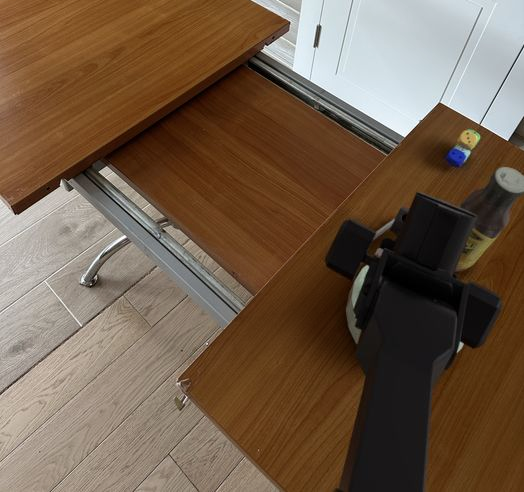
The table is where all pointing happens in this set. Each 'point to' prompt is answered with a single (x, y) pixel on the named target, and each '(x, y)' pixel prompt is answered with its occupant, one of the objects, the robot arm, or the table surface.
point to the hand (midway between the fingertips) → (411, 266)
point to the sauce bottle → (490, 212)
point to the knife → (383, 229)
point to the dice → (463, 148)
